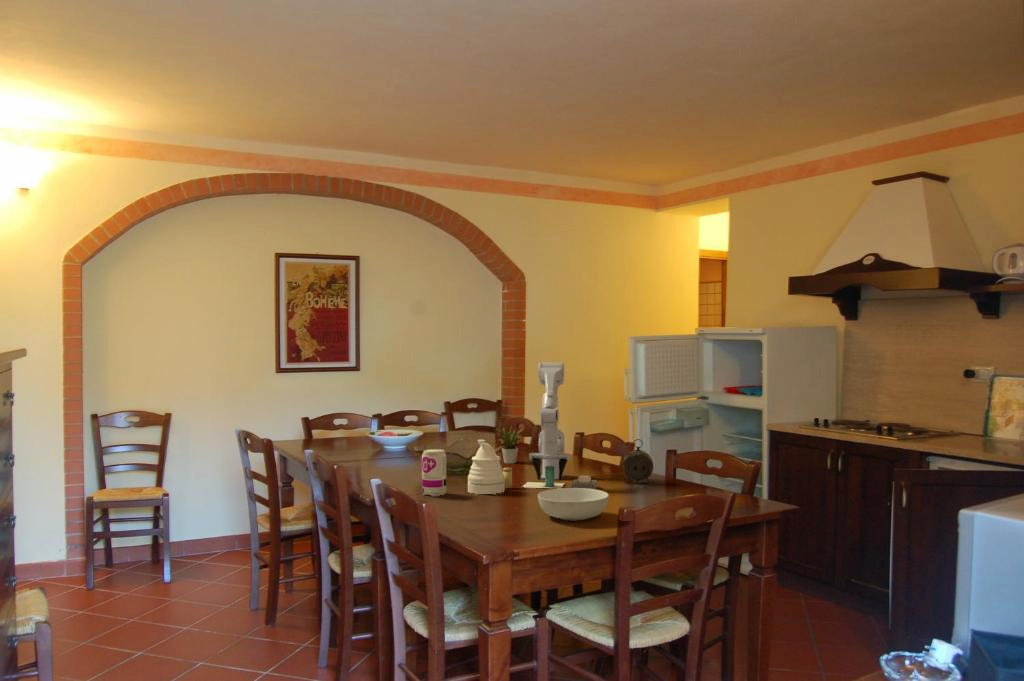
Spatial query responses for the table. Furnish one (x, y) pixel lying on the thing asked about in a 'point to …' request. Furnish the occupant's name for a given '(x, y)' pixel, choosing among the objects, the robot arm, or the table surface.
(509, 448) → the house plant
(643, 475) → the alarm clock
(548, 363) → the robot arm
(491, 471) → the honey pot
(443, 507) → the table surface
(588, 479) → the button
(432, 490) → the supplement can
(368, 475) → the table surface
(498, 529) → the table surface
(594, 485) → the button box
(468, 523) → the table surface
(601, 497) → the serving bowl
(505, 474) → the ball
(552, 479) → the teal marker
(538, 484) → the paper sheet
